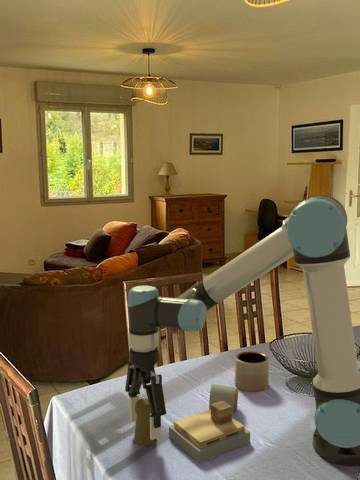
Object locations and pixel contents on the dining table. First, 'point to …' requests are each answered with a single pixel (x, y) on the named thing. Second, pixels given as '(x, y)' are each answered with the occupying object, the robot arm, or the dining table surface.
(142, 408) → the olive pawn
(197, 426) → the pallet
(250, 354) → the planter
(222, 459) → the dining table surface
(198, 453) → the dock
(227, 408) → the crate
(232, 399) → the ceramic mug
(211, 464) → the dining table surface
